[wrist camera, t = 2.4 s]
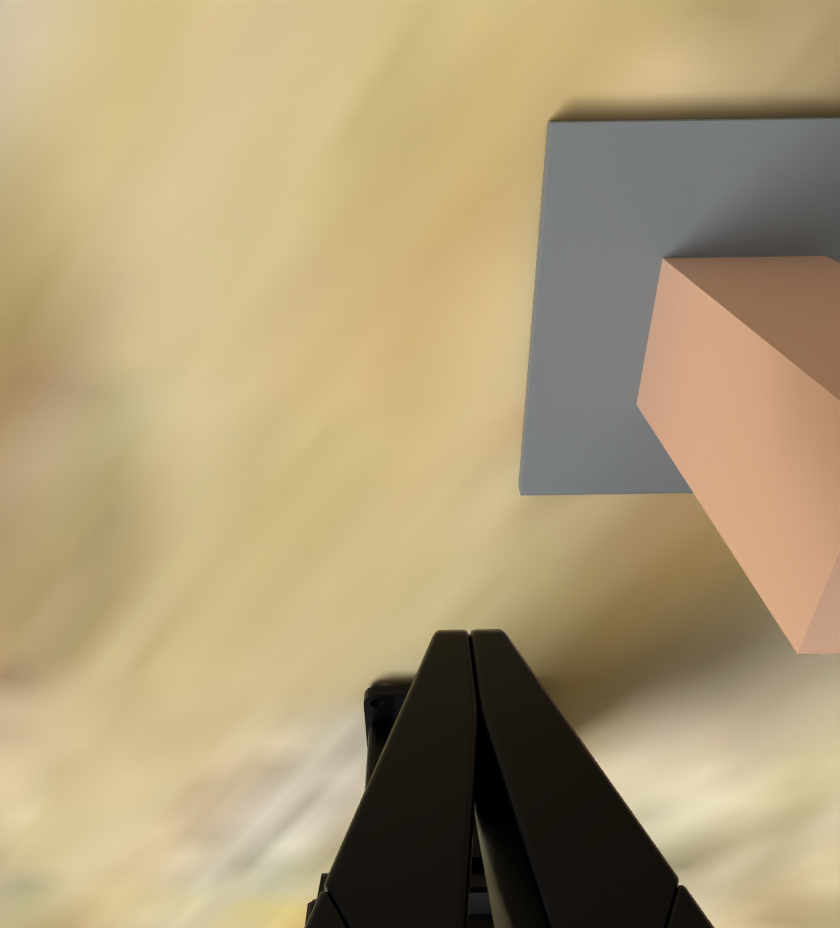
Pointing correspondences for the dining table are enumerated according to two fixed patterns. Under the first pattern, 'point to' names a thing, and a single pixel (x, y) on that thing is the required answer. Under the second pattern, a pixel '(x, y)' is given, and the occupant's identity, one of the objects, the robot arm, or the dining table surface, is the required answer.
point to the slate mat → (649, 270)
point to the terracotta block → (757, 421)
